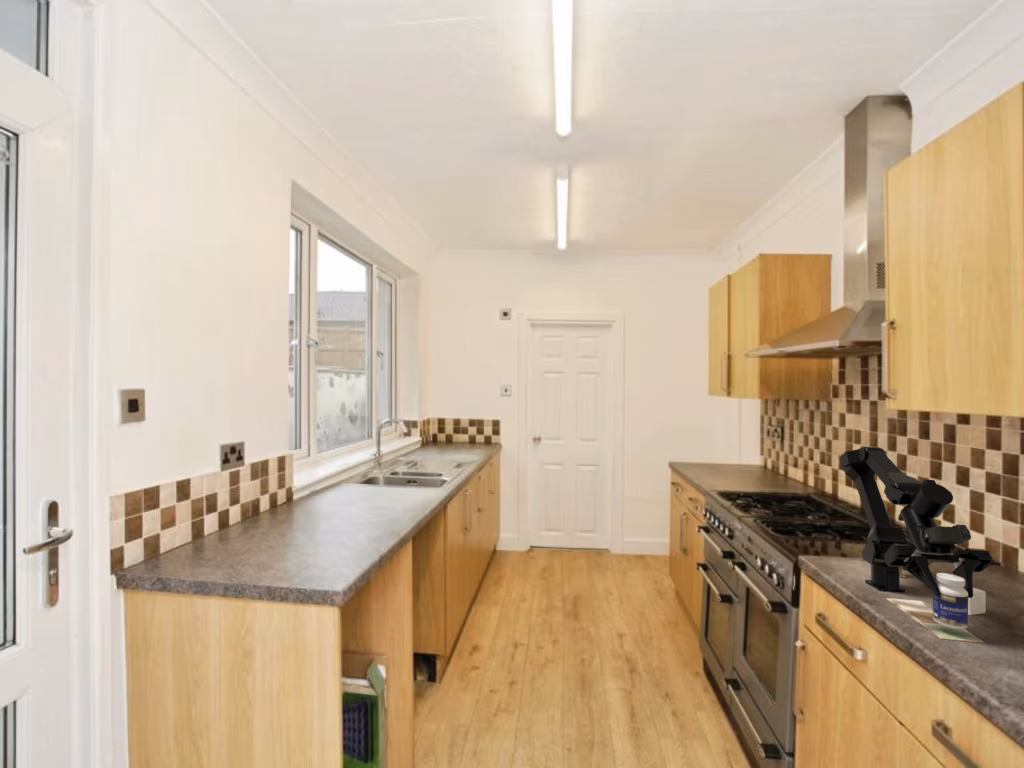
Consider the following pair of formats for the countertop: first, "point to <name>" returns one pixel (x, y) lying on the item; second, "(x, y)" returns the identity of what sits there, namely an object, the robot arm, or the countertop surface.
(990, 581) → the countertop surface
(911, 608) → the game board
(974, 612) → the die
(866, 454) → the robot arm
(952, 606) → the pill bottle
